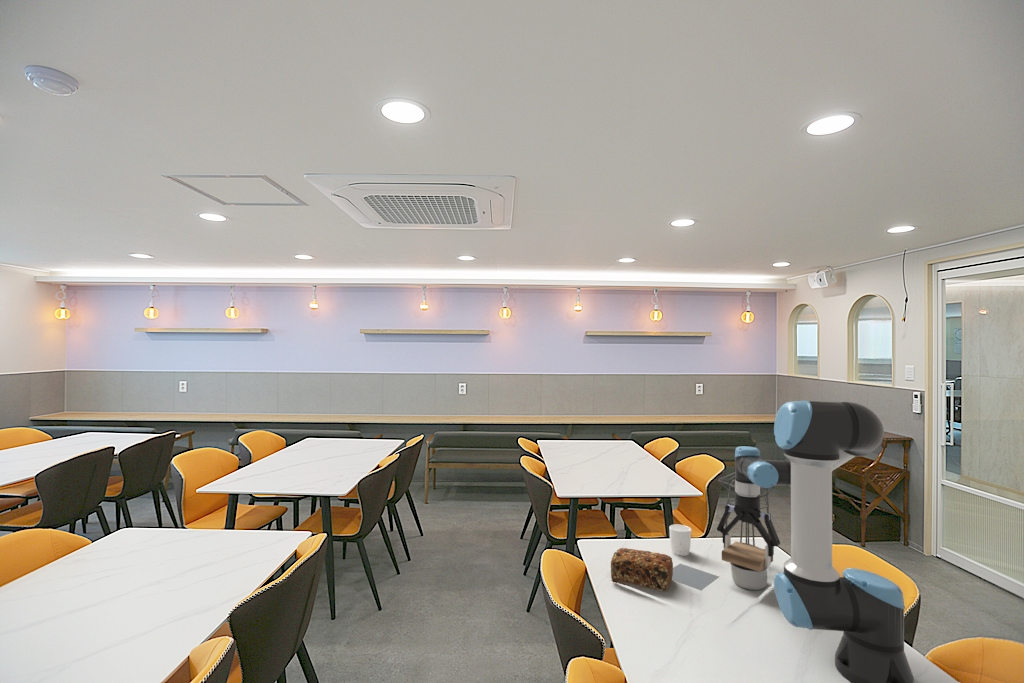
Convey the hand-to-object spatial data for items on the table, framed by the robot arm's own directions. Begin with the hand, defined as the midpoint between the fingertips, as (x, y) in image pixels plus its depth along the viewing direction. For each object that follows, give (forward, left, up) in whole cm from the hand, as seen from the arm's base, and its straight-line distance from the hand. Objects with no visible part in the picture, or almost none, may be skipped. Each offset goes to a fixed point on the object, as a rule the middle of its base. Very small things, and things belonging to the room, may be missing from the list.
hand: (747, 559), depth 162 cm
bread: (-24, +25, -9) cm, 36 cm away
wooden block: (0, 0, 0) cm, 0 cm away
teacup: (0, 0, -8) cm, 8 cm away
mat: (-10, +15, -8) cm, 20 cm away
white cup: (+7, +27, -8) cm, 29 cm away
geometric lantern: (+17, +6, -8) cm, 20 cm away
